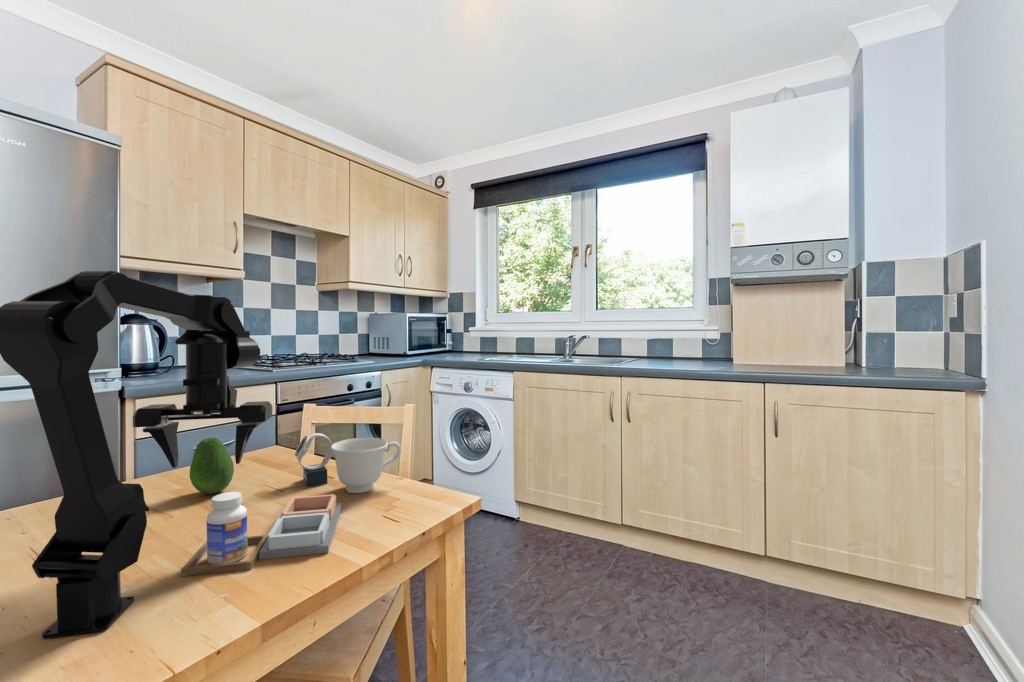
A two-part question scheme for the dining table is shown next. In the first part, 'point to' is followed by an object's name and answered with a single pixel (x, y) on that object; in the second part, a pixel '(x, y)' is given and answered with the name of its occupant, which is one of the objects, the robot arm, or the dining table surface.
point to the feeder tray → (224, 567)
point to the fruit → (211, 466)
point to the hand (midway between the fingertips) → (207, 465)
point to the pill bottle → (226, 529)
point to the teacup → (361, 461)
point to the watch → (313, 472)
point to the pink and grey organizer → (303, 527)
